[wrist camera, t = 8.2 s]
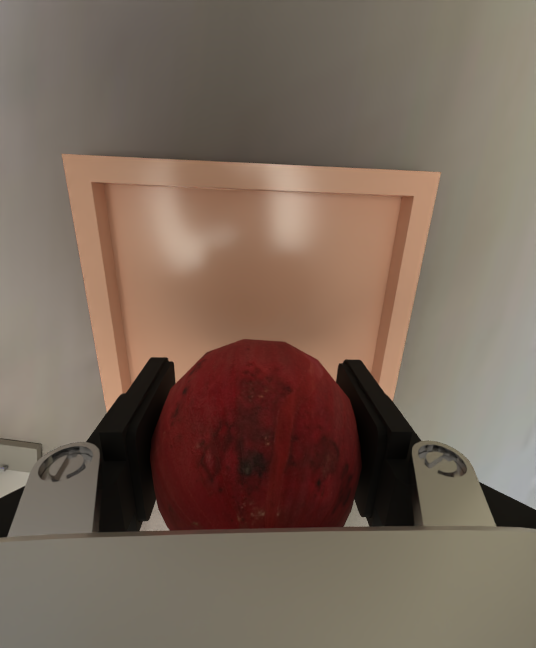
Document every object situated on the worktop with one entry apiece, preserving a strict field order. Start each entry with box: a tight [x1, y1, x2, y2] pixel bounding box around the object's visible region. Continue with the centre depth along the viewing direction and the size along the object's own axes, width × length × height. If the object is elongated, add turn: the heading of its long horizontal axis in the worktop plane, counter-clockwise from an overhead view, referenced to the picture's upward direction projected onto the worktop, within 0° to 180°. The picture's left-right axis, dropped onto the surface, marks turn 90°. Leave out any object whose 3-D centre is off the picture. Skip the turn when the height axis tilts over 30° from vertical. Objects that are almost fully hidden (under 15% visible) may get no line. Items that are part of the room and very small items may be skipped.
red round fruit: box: [150, 339, 362, 531], centre depth 9 cm, size 6×6×8 cm
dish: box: [62, 154, 441, 412], centre depth 17 cm, size 16×16×2 cm
